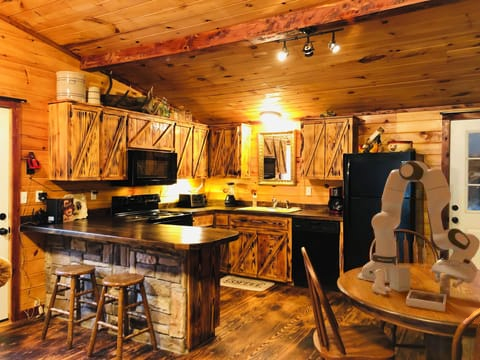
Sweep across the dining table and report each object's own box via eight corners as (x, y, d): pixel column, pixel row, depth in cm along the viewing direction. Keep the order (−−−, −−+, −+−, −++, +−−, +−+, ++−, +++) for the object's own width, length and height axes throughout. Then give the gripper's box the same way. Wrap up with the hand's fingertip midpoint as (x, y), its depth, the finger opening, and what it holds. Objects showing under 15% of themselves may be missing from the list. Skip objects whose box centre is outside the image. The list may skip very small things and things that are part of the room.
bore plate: (409, 304, 178) (409, 299, 177) (412, 297, 189) (412, 292, 189) (441, 310, 171) (441, 304, 171) (442, 301, 182) (443, 296, 182)
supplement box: (410, 292, 200) (410, 267, 199) (398, 293, 197) (398, 268, 197) (400, 287, 207) (401, 264, 206) (388, 289, 205) (389, 265, 204)
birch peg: (439, 299, 188) (439, 274, 188) (440, 296, 192) (440, 272, 192) (449, 300, 186) (450, 276, 186) (450, 298, 190) (450, 274, 190)
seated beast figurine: (385, 296, 192) (385, 272, 192) (368, 293, 198) (368, 269, 197) (392, 292, 199) (392, 269, 199) (375, 289, 205) (375, 266, 204)
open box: (406, 306, 177) (406, 298, 177) (410, 297, 191) (410, 289, 190) (444, 313, 169) (444, 304, 169) (446, 303, 183) (446, 294, 183)
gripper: (436, 254, 201) (423, 275, 197) (475, 262, 183) (462, 285, 179) (442, 262, 203) (429, 282, 199) (481, 271, 185) (468, 294, 181)
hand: (445, 284), depth 189 cm, fingers open, 8 cm apart
